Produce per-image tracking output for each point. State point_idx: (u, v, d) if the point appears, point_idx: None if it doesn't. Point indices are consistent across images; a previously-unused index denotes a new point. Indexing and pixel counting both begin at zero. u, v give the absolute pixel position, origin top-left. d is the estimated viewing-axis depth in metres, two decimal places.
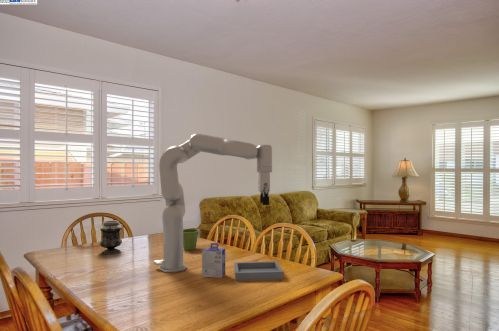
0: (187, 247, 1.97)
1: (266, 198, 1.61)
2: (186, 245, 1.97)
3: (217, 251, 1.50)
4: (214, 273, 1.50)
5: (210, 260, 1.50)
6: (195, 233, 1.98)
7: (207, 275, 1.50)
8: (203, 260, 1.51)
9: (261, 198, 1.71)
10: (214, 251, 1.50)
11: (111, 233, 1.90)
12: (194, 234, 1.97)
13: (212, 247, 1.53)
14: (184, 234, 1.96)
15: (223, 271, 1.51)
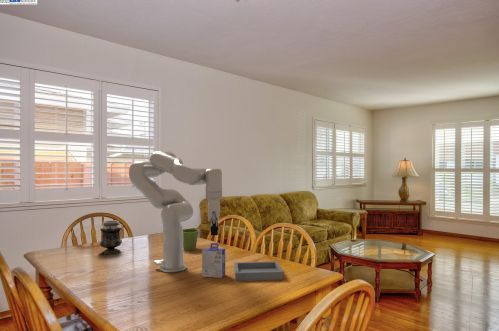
0: (187, 247, 1.97)
1: (214, 228, 1.47)
2: (186, 245, 1.97)
3: (217, 251, 1.50)
4: (214, 273, 1.50)
5: (210, 260, 1.50)
6: (195, 233, 1.98)
7: (207, 275, 1.50)
8: (203, 260, 1.51)
9: None
10: (214, 251, 1.50)
11: (111, 233, 1.90)
12: (194, 234, 1.97)
13: (212, 247, 1.53)
14: (184, 234, 1.96)
15: (223, 271, 1.51)
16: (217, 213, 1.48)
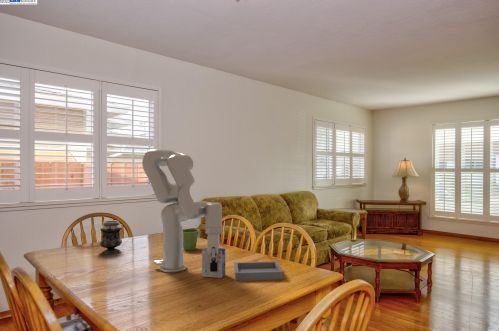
0: (187, 247, 1.97)
1: (214, 264, 1.48)
2: (186, 245, 1.97)
3: None
4: (214, 273, 1.50)
5: (210, 260, 1.50)
6: (195, 233, 1.98)
7: (207, 275, 1.50)
8: (203, 260, 1.51)
9: None
10: None
11: (111, 233, 1.90)
12: (194, 234, 1.97)
13: None
14: (184, 234, 1.96)
15: (223, 271, 1.51)
16: (217, 248, 1.48)
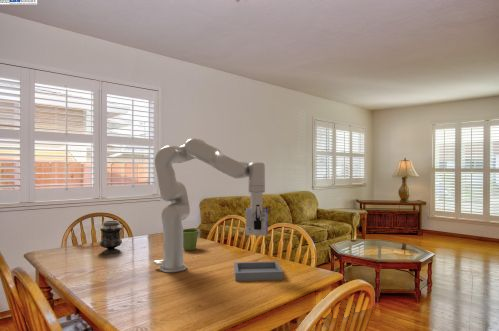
0: (187, 247, 1.97)
1: (258, 222, 1.50)
2: (186, 245, 1.97)
3: None
4: (258, 231, 1.51)
5: (254, 218, 1.52)
6: (195, 233, 1.98)
7: (251, 233, 1.52)
8: (246, 218, 1.52)
9: None
10: None
11: (111, 233, 1.90)
12: (194, 234, 1.97)
13: None
14: (184, 234, 1.96)
15: (266, 229, 1.52)
16: (261, 206, 1.49)
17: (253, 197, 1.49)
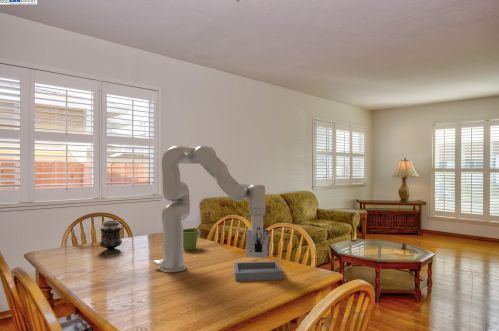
0: (187, 247, 1.97)
1: (259, 245, 1.50)
2: (186, 245, 1.97)
3: None
4: (259, 254, 1.51)
5: None
6: (195, 233, 1.98)
7: (252, 256, 1.52)
8: (247, 240, 1.52)
9: None
10: None
11: (111, 233, 1.90)
12: (194, 234, 1.97)
13: None
14: (184, 234, 1.96)
15: (267, 252, 1.52)
16: (261, 229, 1.49)
17: (254, 220, 1.49)
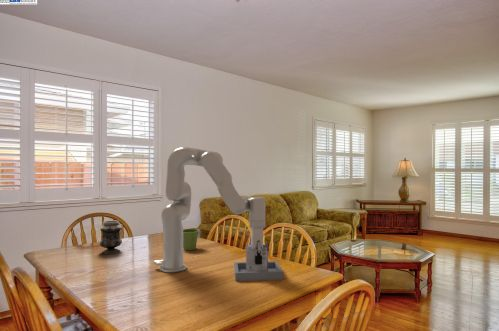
0: (187, 247, 1.97)
1: (259, 257, 1.49)
2: (186, 245, 1.97)
3: (261, 247, 1.52)
4: (259, 269, 1.52)
5: None
6: (195, 233, 1.98)
7: None
8: (247, 256, 1.52)
9: None
10: None
11: (111, 233, 1.90)
12: (194, 234, 1.97)
13: None
14: (184, 234, 1.96)
15: (267, 267, 1.53)
16: (261, 242, 1.49)
17: (254, 233, 1.49)
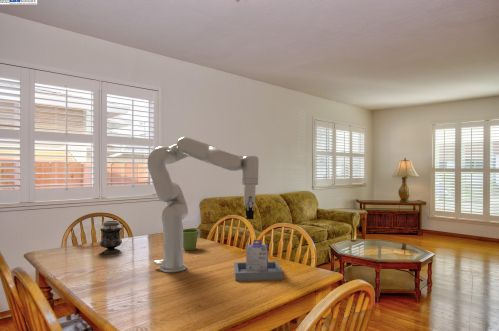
0: (187, 247, 1.97)
1: (250, 212, 1.54)
2: (186, 245, 1.97)
3: (261, 247, 1.52)
4: (259, 269, 1.52)
5: (255, 256, 1.52)
6: (195, 233, 1.98)
7: None
8: (247, 256, 1.52)
9: (247, 211, 1.64)
10: (258, 247, 1.52)
11: (111, 233, 1.90)
12: (194, 234, 1.97)
13: (255, 244, 1.55)
14: (184, 234, 1.96)
15: (267, 267, 1.53)
16: (253, 198, 1.55)
17: (246, 189, 1.55)
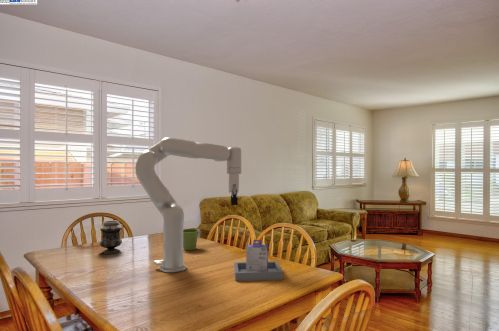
0: (187, 247, 1.97)
1: (234, 198, 1.67)
2: (186, 245, 1.97)
3: (261, 247, 1.52)
4: (259, 269, 1.52)
5: (255, 256, 1.52)
6: (195, 233, 1.98)
7: None
8: (247, 256, 1.52)
9: None
10: (258, 247, 1.52)
11: (111, 233, 1.90)
12: (194, 234, 1.97)
13: (255, 244, 1.55)
14: (184, 234, 1.96)
15: (267, 267, 1.53)
16: (237, 186, 1.68)
17: (230, 178, 1.69)
